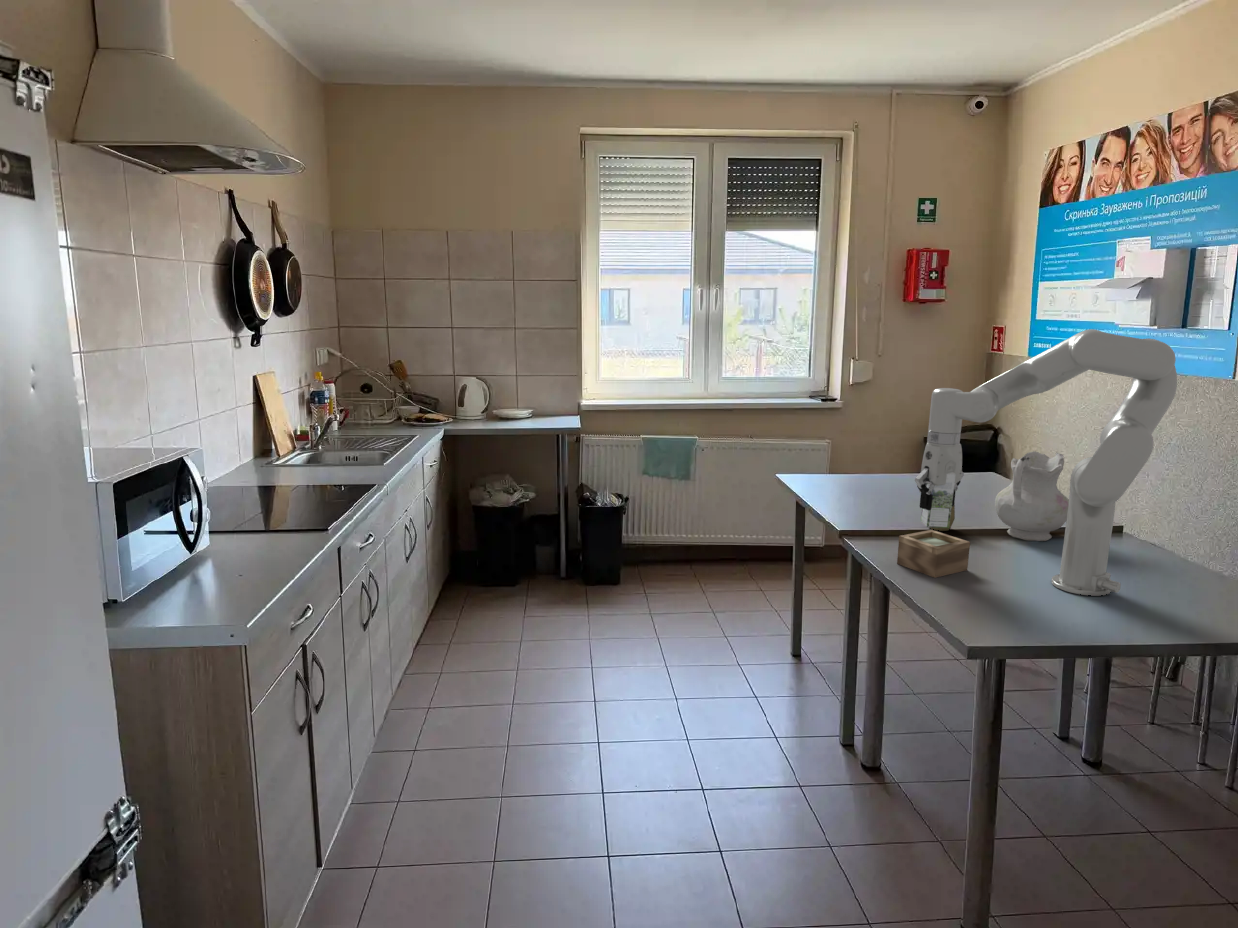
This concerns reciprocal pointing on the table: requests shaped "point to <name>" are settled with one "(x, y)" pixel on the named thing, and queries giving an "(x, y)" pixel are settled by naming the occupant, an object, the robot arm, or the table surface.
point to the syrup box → (940, 504)
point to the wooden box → (933, 553)
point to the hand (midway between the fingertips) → (936, 506)
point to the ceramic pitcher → (1033, 497)
